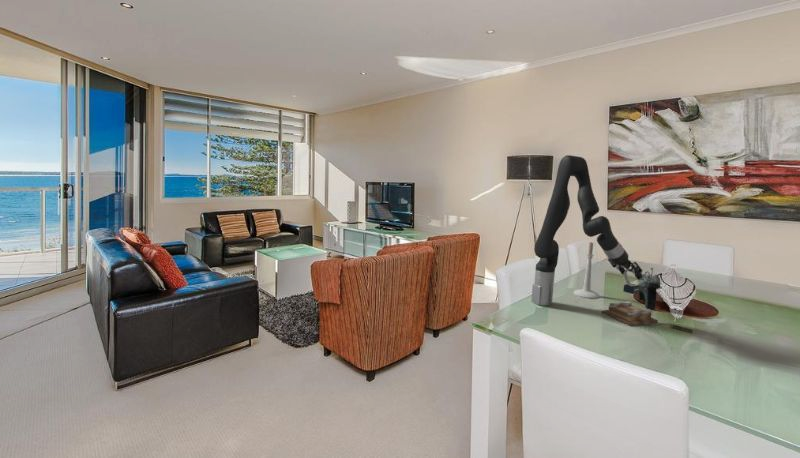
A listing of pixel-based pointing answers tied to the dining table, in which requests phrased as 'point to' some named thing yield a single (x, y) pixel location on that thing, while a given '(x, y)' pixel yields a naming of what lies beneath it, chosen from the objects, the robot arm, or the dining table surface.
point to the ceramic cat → (649, 290)
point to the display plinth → (629, 314)
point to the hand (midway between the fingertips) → (632, 275)
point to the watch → (631, 287)
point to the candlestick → (587, 279)
